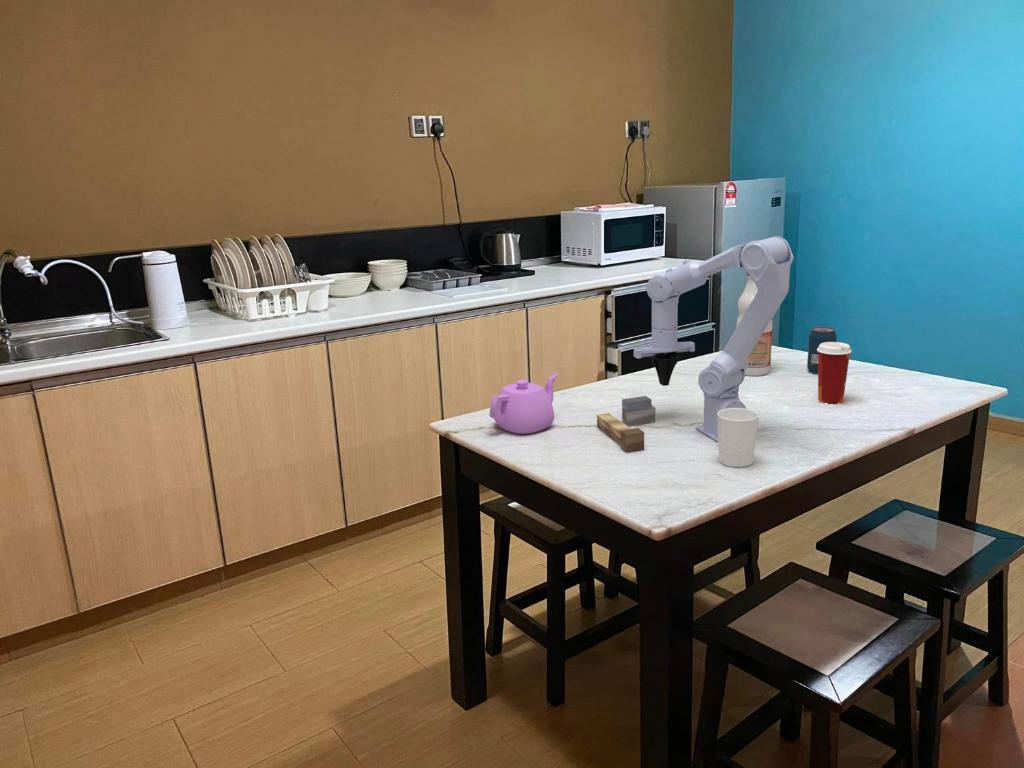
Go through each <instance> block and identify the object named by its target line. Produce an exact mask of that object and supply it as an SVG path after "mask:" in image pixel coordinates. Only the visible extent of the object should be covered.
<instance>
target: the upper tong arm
mask: <svg viewBox="0 0 1024 768" xmlns="http://www.w3.org/2000/svg"><path fill="white" fill-rule="evenodd" d="M597 421H598V422H599V423H600V424H602V425H603V426H604V427H606V428H607V429H608V430H610V431H611V432H612V433H614V434H615V435H616V436H618V437H619V438H620V439H621V430H627V429H632V428H631V426H627V425H625V424H624V423H622V420H619V419H618V418H616V417H615V416H614V415H612V414H611V413H610V412H608V413H601V414H597V415H596V422H597Z"/></svg>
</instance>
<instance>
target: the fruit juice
mask: <svg viewBox="0 0 1024 768" xmlns="http://www.w3.org/2000/svg"><path fill="white" fill-rule="evenodd" d="M746 278H747V282H746V284H745V287H744V290H743V292H742V294H741V295H740V296H739V298H738V300H737V308H738V309H737V310H738V317H737V319H736V324H735V325H736V326H735V327H736V328H737V326H738V324H739V322H740V321H741V319H742V317H743V316H744V314H745V312H746V311H747V309H748V307H749V305H750V304H751V302H752V300H753V299H754V297H755V295H756V294H757V292H758V289H757V286H756V284H755V283H754V281H753V280H752V278H751V277H750V276H749V274H748V273H747V272H746ZM736 328H735V329H736ZM772 342H773V318H772V319H771V321H770V323H769V324H768V326H767V327H766V329H765V331H764V332H763V334H762V335H761V337H760V339H759V340H758V342H757V344H756V345H755V347H754V348H753V350H752V352H751V353H750V355H749V357H748V358H747V362H748V366H747V368H746V370H745V376H748V377H759V376H766V375H768V374H770V372H771V365H772V364H771V362H772V344H773V343H772Z"/></svg>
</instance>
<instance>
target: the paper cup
mask: <svg viewBox="0 0 1024 768" xmlns="http://www.w3.org/2000/svg"><path fill="white" fill-rule="evenodd" d="M817 351H818V375H817V380H818V381H817V386H818V387H817V400H819V401H820V402H823V403H828V404H827V405H829V404H837V405H839V404H838V403H841V404H843V403H844V397H845V391H846V384H847V378H848V370H849V369H848V368H849V362H850V355H851V353H852V352H853V350H852V349H851V346H850V344H848V343H844V342H841V341H839V342H838V341H836V342H825V343H821V344H820V345H819V347H818V348H817ZM819 401H818V402H819ZM820 402H819V403H820ZM842 402H843V403H842ZM823 403H822V404H823Z"/></svg>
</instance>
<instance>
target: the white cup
mask: <svg viewBox="0 0 1024 768" xmlns="http://www.w3.org/2000/svg"><path fill="white" fill-rule="evenodd" d="M759 416H760V415H759V413H758V412H757V411H755V410H752V409H748V408H746V409H744V408H727V409H723V410H720V411H718V413H717V427H718V441H717V448H718V460H719V463H721V464H723V465H724V466H727V467H733V468H745V467H749V466H751V465H753V464H754V461H755V453H756V452H755V450H756V449H757V448H756V446H757V438H758V430H759V418H760V417H759Z"/></svg>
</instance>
